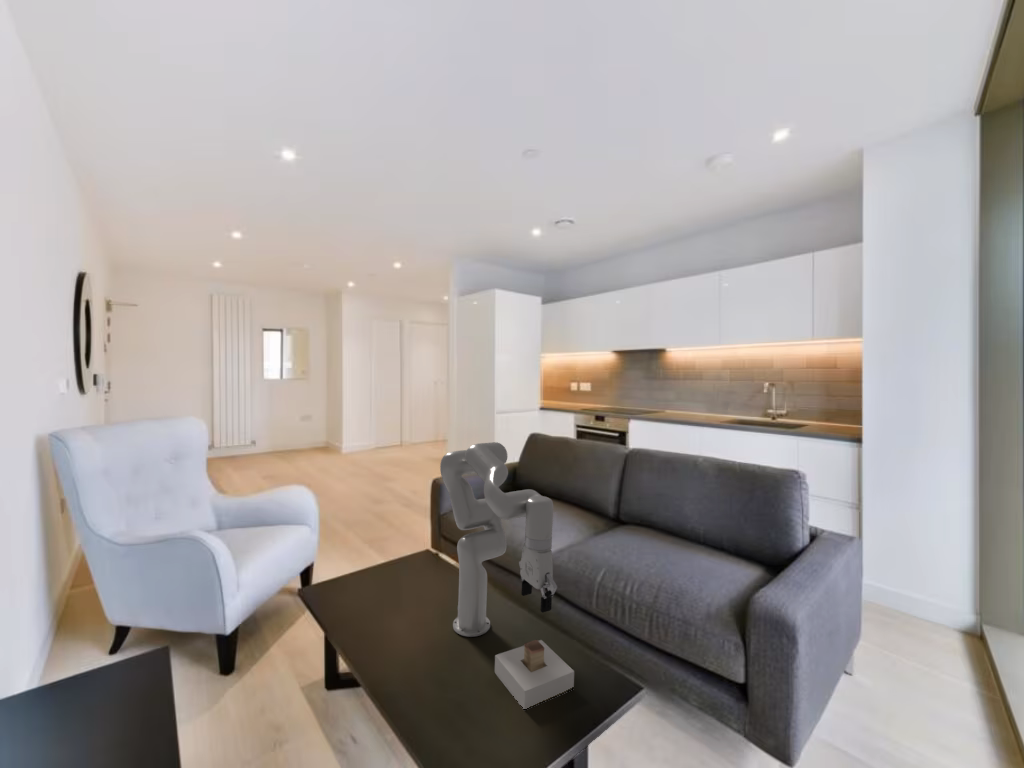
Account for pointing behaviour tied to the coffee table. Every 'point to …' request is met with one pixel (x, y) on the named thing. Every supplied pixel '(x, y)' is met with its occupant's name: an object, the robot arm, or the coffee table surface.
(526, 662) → the maple peg
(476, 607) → the robot arm
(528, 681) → the socket block
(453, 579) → the coffee table surface
